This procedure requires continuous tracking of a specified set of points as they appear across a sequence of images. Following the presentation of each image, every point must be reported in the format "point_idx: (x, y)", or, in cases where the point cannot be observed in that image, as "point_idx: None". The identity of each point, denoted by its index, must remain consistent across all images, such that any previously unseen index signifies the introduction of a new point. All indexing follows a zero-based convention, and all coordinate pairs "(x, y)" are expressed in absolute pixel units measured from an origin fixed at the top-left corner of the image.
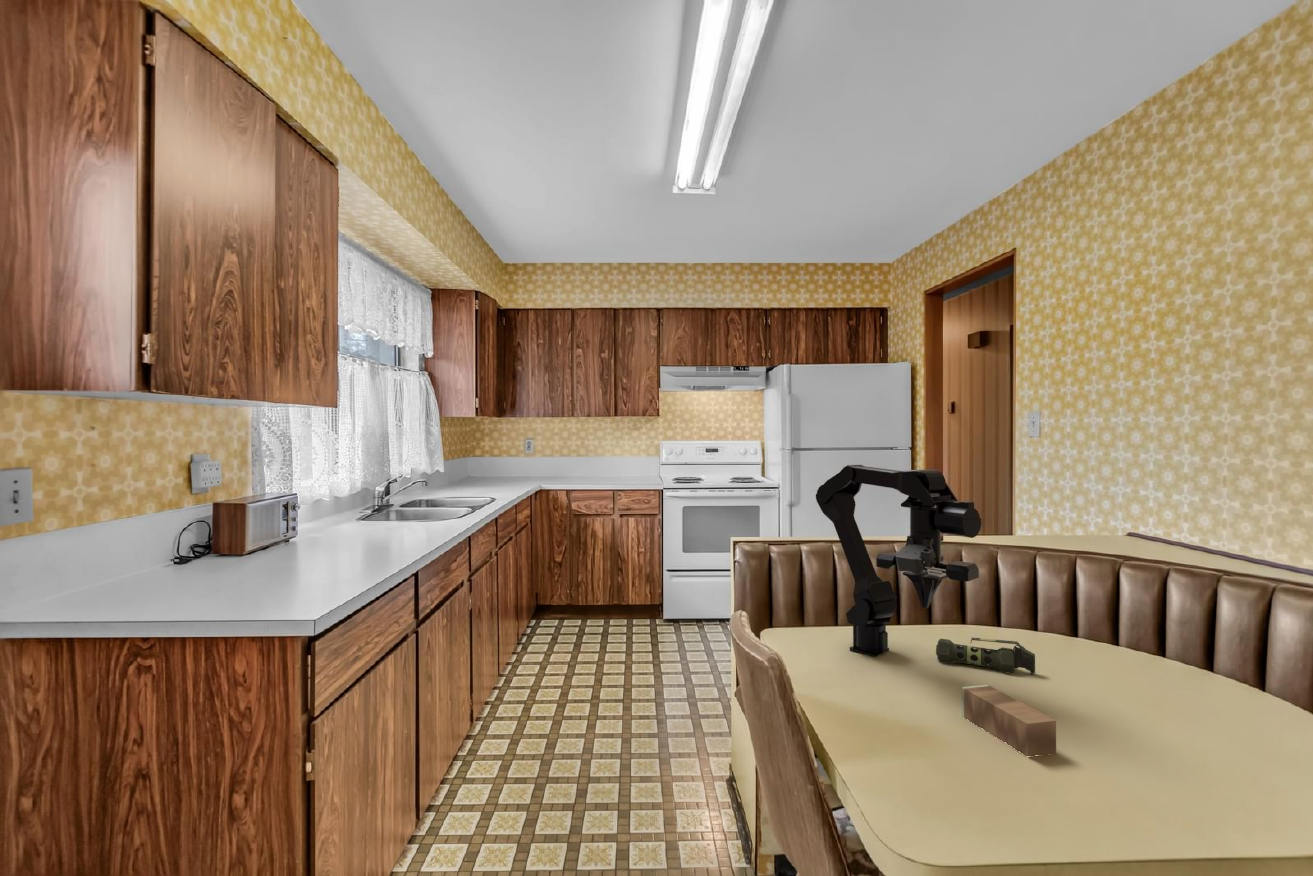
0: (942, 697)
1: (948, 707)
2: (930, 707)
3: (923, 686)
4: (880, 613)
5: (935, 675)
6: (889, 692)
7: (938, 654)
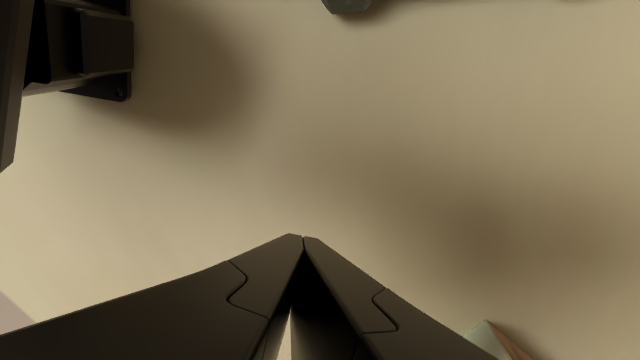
0: None
1: None
2: None
3: None
4: (11, 138)
5: (343, 150)
6: None
7: (328, 9)
